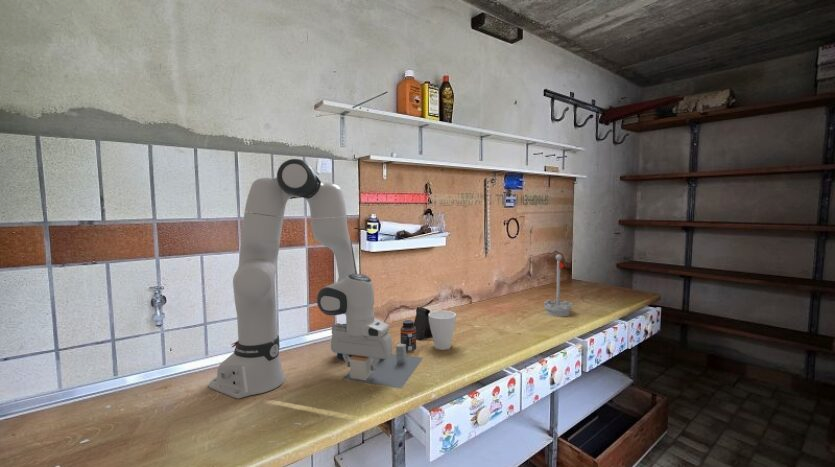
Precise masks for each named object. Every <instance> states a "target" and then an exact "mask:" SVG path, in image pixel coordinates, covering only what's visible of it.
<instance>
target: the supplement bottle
mask: <svg viewBox="0 0 835 467" xmlns="http://www.w3.org/2000/svg"><path fill="white" fill-rule="evenodd" d="M400 344H406V352H411V351H415V350H416V349H417V339H416V327H415V326H414V320H412V319H405V320H403V321H402V326H401V327H400Z"/></svg>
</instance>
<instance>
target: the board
mask: <svg viewBox="0 0 835 467" xmlns="http://www.w3.org/2000/svg"><path fill="white" fill-rule="evenodd" d="M423 359H424V357H420V356H412V355H406V363H405V364H404V365H400V364H397V361H396V354H395V353H392V354H391V356H390V357H389V358H388V359H385V360H382V361H379V362H378V363H377V370H376V371H373V373H372V374H371V375H370V376H369V377H368V378H367V379H366V380H361V379H354V378H351V375H350V371H349V372H348V373H346V374H345V375H344V376H343V377H342V378H341V380H345V381H352V382H357V383H358V382H359V383H363V384H364V383H365V384H370V385H377V386H384V387H390V388H397V389H403V387H404V385H405V384H406V383H407V382H408V380H409V379H410V377H411V376H412V374H414V372H415V371H416V369H417V367H418V366H419V365H420V363H421V362H422V360H423ZM372 361H373V363H374V362H375V361H374V360H373V358H372Z"/></svg>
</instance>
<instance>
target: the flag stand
mask: <svg viewBox="0 0 835 467" xmlns="http://www.w3.org/2000/svg"><path fill="white" fill-rule="evenodd" d="M555 259H556V299H553V301H552V299H546V300H545V301H543V302H544V303H543V307H544V308H545V313H546V314H547V315H550V316H553V317H561V318H563V317H564V318H566V317H568V316H570V311H571V310H572V309H573V303H572V302H569V301H567V300H562V301H560V300H561V299H560V298H561V297H560V296H561V294H560V292H561V269H562V268H564V267H565V265H564V264H563V263H562V261H561V260H562V259H563V256H562V254H560V253H559V254H556V255H555Z"/></svg>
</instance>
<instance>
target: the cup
mask: <svg viewBox="0 0 835 467" xmlns="http://www.w3.org/2000/svg"><path fill="white" fill-rule="evenodd" d="M428 316H429V324H430V329H431V332H432V336H433V337H432V339H433V346H434V348H435V349H436V350H445V351H446V350H449V349H450V348H451V347H452V346H451V345H452V339H453V335H454V331H455V326H456V319H457V314H456V312H453V311H450V310H440V309H439V310H434V311H430V313H429V315H428Z"/></svg>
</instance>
